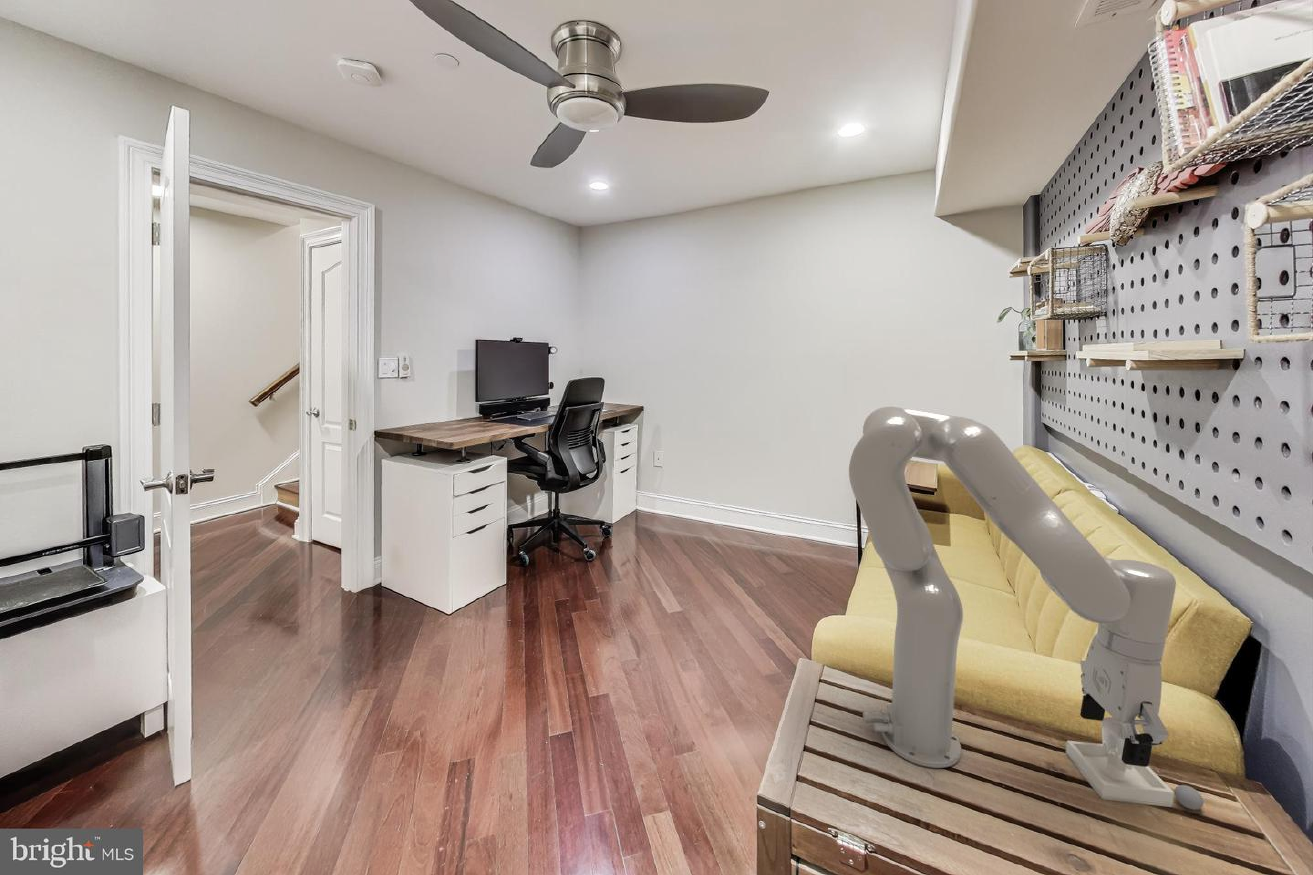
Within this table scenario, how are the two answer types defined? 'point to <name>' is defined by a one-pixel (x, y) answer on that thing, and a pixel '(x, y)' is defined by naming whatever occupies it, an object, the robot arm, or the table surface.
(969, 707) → the table surface
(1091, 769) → the tray
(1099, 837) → the table surface
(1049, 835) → the table surface
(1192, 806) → the ball
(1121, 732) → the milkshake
